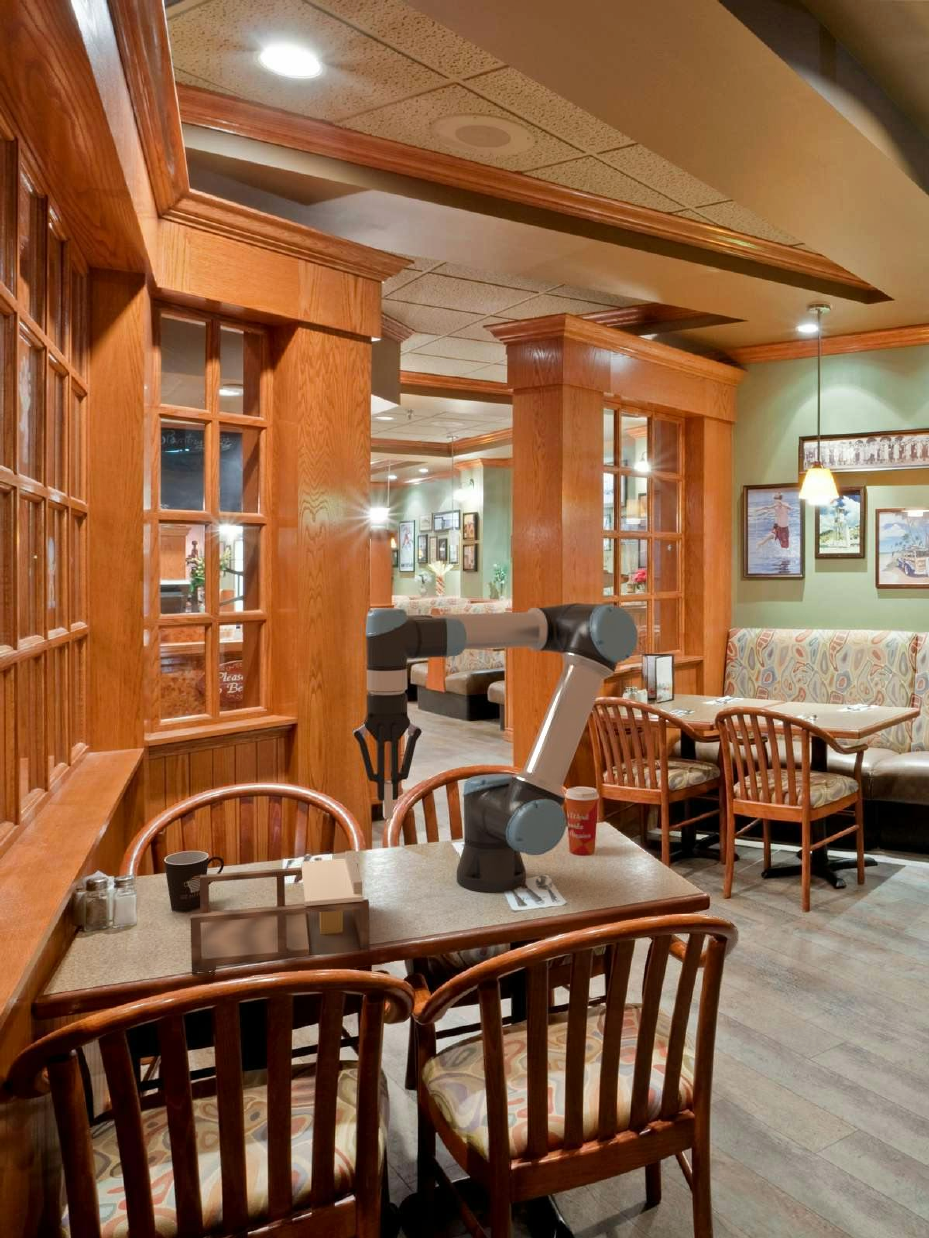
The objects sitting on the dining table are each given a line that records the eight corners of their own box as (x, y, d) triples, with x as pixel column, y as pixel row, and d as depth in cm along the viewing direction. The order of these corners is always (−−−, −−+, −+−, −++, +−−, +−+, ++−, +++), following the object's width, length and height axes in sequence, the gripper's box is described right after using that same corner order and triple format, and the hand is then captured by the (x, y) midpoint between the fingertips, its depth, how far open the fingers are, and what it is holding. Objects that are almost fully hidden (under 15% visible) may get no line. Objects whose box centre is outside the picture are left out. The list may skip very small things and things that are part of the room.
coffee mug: (164, 916, 174) (163, 866, 174) (166, 900, 183) (165, 853, 182) (225, 909, 178) (224, 860, 177) (224, 894, 186) (223, 847, 185)
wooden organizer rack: (358, 910, 177) (357, 862, 176) (369, 956, 156) (369, 902, 155) (201, 924, 170) (200, 874, 170) (191, 974, 149) (190, 917, 149)
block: (341, 923, 167) (340, 882, 167) (342, 932, 163) (342, 889, 163) (319, 925, 166) (319, 883, 166) (320, 934, 162) (320, 891, 162)
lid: (352, 861, 176) (352, 847, 176) (363, 901, 155) (363, 885, 155) (301, 865, 174) (300, 851, 174) (305, 906, 153) (304, 890, 153)
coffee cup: (557, 851, 213) (557, 789, 212) (579, 844, 218) (579, 784, 218) (584, 859, 207) (584, 796, 206) (606, 851, 212) (607, 790, 211)
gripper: (418, 688, 170) (419, 809, 171) (350, 690, 167) (351, 813, 168) (425, 693, 162) (425, 820, 164) (353, 695, 160) (354, 824, 161)
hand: (387, 816), depth 166 cm, fingers closed
